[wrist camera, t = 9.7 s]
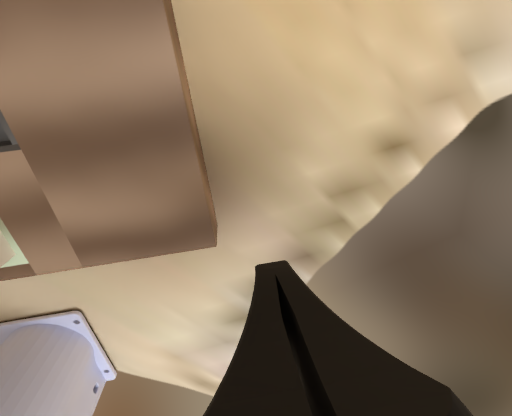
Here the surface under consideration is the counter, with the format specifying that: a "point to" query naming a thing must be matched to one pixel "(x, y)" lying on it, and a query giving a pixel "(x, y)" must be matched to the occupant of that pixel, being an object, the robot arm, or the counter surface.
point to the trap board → (97, 137)
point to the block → (5, 250)
